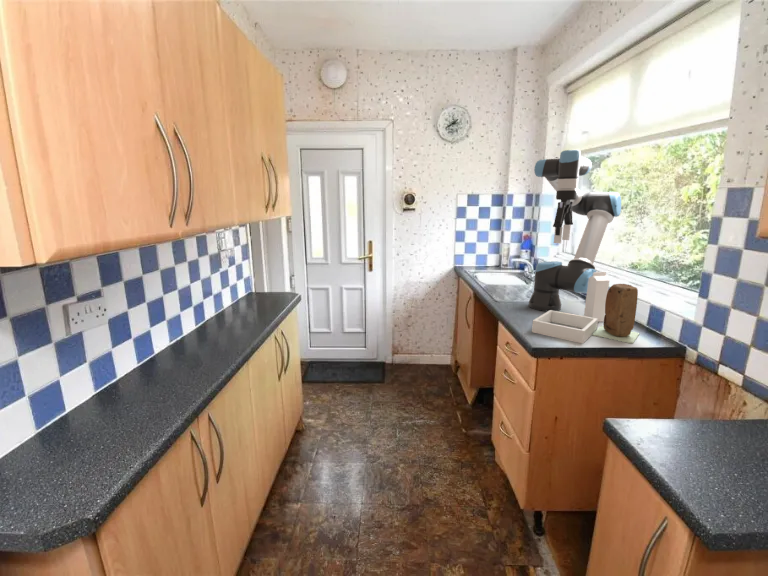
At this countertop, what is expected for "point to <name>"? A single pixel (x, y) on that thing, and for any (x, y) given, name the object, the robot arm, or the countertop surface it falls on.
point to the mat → (603, 333)
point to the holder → (564, 332)
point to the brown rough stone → (620, 309)
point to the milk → (596, 296)
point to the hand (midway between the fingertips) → (561, 241)
